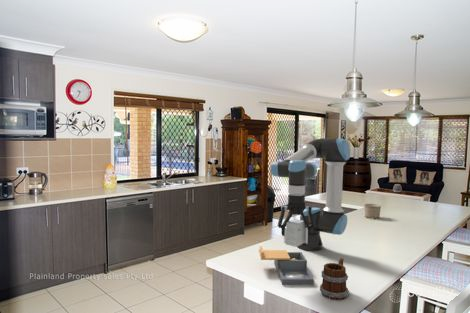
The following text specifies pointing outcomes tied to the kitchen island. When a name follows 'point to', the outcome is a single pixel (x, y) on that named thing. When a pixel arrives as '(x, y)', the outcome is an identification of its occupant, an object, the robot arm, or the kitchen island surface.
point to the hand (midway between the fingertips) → (295, 242)
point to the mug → (334, 281)
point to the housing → (294, 270)
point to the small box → (295, 232)
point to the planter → (372, 210)
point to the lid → (273, 254)
